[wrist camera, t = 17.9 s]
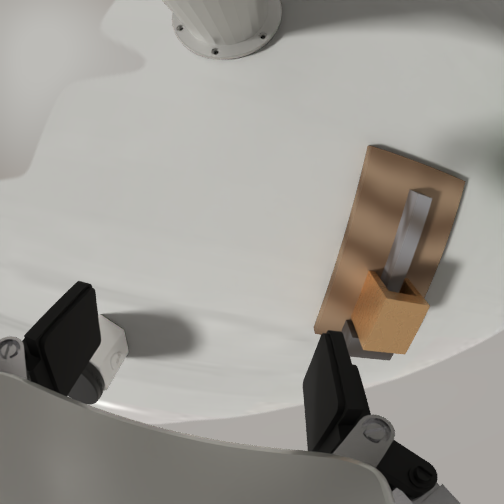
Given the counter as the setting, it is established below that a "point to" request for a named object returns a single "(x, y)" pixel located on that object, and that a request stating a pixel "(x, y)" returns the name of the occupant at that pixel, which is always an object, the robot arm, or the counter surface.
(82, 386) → the jar
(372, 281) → the wooden block
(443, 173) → the rail board
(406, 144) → the counter surface
